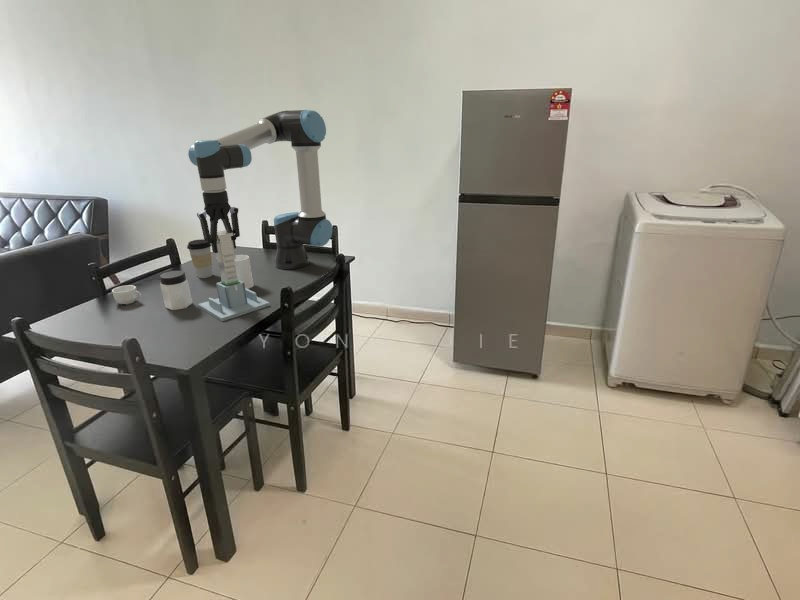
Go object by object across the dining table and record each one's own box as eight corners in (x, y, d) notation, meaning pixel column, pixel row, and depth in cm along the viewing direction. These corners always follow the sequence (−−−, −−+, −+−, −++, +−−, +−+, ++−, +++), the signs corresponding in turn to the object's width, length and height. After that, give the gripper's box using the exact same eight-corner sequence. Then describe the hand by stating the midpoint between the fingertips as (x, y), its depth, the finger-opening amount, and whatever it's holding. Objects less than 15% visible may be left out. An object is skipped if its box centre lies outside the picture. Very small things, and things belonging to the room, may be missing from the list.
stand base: (244, 293, 174) (241, 271, 171) (269, 305, 163) (266, 282, 159) (198, 307, 162) (193, 283, 159) (222, 321, 151) (217, 296, 147)
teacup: (110, 306, 165) (106, 292, 163) (124, 298, 172) (121, 284, 170) (135, 307, 164) (132, 293, 162) (149, 299, 171) (146, 285, 169)
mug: (240, 294, 174) (235, 264, 169) (221, 291, 176) (216, 262, 171) (258, 283, 184) (254, 255, 179) (240, 281, 186) (236, 253, 182)
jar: (165, 311, 159) (157, 279, 154) (165, 303, 166) (158, 272, 161) (192, 307, 162) (186, 275, 158) (192, 299, 169) (185, 269, 165)
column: (234, 283, 163) (225, 230, 156) (241, 287, 160) (232, 232, 152) (220, 287, 160) (210, 233, 152) (227, 291, 156) (217, 235, 149)
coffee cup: (206, 280, 188) (199, 245, 183) (188, 278, 191) (180, 243, 186) (221, 273, 197) (215, 239, 191) (203, 271, 200) (197, 238, 194)
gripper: (233, 186, 155) (243, 252, 164) (183, 192, 144) (197, 263, 152) (244, 188, 150) (254, 256, 159) (193, 195, 139) (207, 268, 148)
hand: (226, 259), depth 156 cm, fingers closed on column, 4 cm apart
